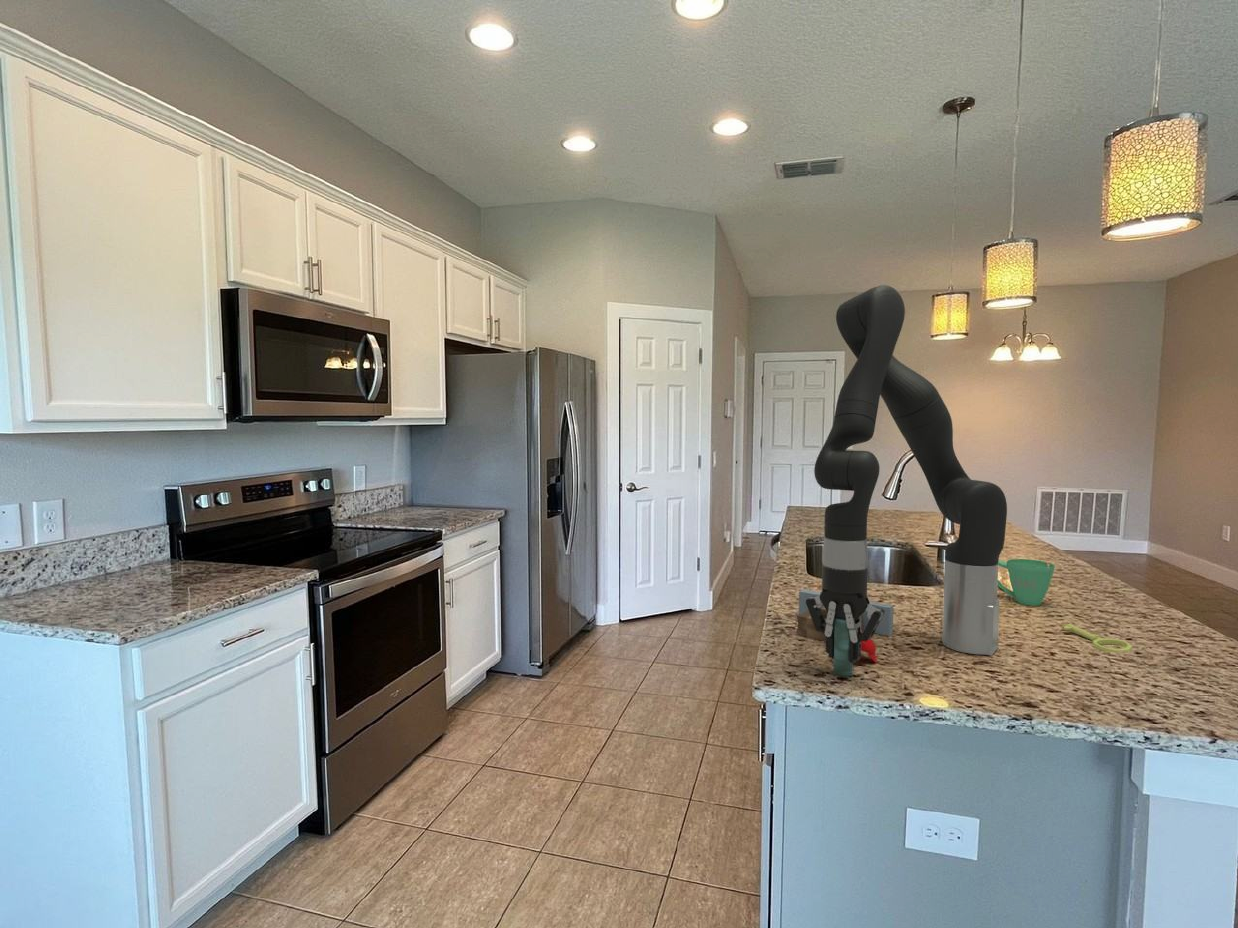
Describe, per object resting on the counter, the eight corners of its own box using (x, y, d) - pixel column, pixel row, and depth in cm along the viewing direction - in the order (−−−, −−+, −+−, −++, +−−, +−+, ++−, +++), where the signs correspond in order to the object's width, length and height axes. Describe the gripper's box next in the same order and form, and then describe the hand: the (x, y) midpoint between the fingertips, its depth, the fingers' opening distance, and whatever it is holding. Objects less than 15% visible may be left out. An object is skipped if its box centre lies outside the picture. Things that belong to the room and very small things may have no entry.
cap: (831, 646, 115) (861, 634, 112) (829, 626, 120) (858, 614, 117) (854, 678, 116) (884, 666, 113) (852, 656, 121) (880, 645, 119)
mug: (1059, 603, 152) (1060, 563, 152) (1044, 611, 146) (1046, 569, 146) (993, 591, 164) (995, 554, 163) (977, 597, 158) (979, 559, 157)
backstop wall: (892, 633, 131) (893, 605, 131) (889, 636, 130) (889, 607, 129) (803, 614, 144) (803, 589, 144) (798, 617, 143) (799, 591, 142)
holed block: (862, 632, 132) (863, 614, 132) (844, 645, 124) (845, 625, 124) (817, 622, 138) (817, 605, 138) (797, 634, 131) (798, 615, 131)
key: (1067, 632, 133) (1067, 622, 133) (1136, 650, 122) (1137, 640, 122) (1048, 638, 129) (1049, 628, 129) (1119, 657, 119) (1119, 646, 118)
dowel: (855, 672, 111) (856, 617, 110) (848, 678, 108) (849, 621, 108) (837, 668, 113) (838, 614, 112) (830, 673, 110) (831, 618, 110)
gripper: (893, 565, 107) (890, 662, 109) (815, 554, 117) (813, 644, 118) (878, 573, 102) (876, 675, 103) (797, 561, 111) (796, 655, 112)
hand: (842, 658), depth 110 cm, fingers closed on dowel, 3 cm apart
